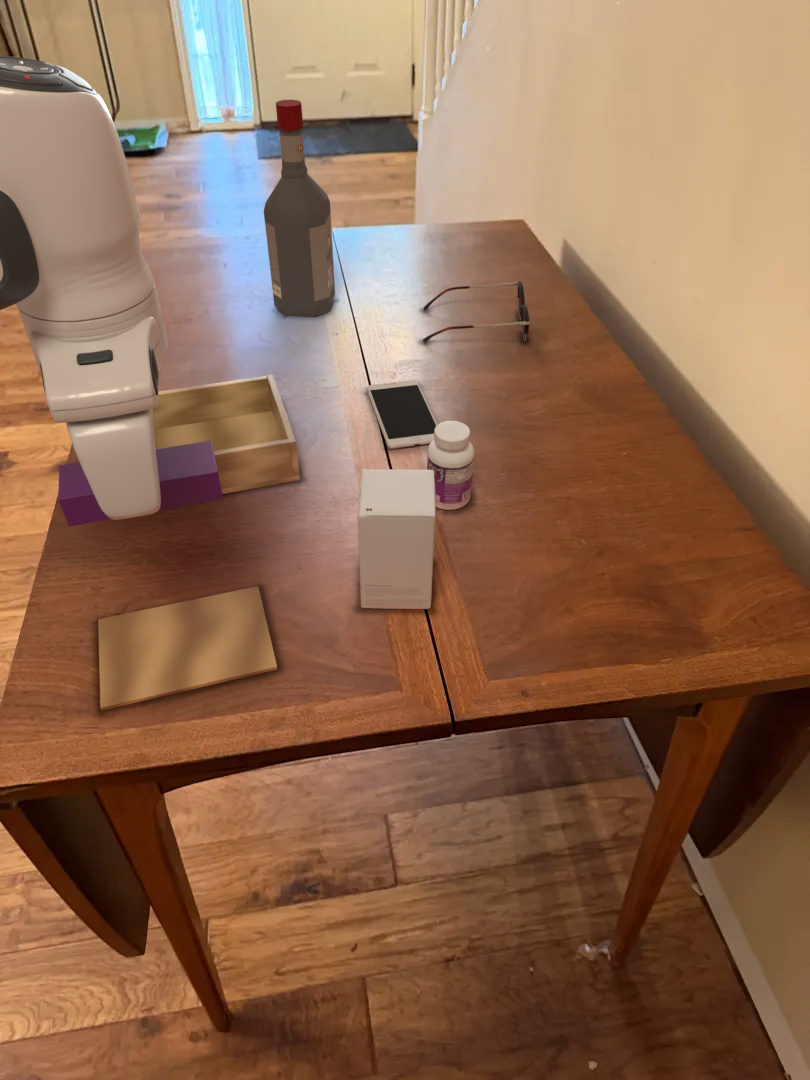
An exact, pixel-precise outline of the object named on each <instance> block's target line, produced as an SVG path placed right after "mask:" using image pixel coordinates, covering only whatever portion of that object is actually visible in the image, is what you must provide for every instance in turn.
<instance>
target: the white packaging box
mask: <svg viewBox="0 0 810 1080" xmlns="http://www.w3.org/2000/svg"><path fill="white" fill-rule="evenodd" d="M358 493H359V494H358V495H359V498H358V507H357V509H358V510H357V535H358V537H357V538H358V563H359V586H360V587H359V589H360V608H361V609H383V610H384V609H385V610H387V609H388V610H393V609H394V610H429V609H431V607H432V596H433V594H432V593H433V576H434V575H433V574H434V573H433V571H434V552H435V534H436V517H437V515H436V514H437V513H436V512H437V507H436V498H435V478H434V470H427V469H409V468H408V469H401V468H399V469H398V468H397V469H395V468H394V469H393V468H392V469H390V468H388V469H387V468H382V469H381V468H379V469H378V468H376V469H375V468H362V469H361V471H360V483H359V492H358Z"/></svg>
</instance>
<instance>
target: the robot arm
mask: <svg viewBox="0 0 810 1080" xmlns="http://www.w3.org/2000/svg"><path fill="white" fill-rule="evenodd" d="M140 229H141V216H140V210H139V205H138V202H137V198H136V193H135V189H134V185H133V182H132V176H131V173H130V170H129V166H128V163H127V158H126V155H125V152H124V149H123V145H122V142H121V140H120V136H119V134H118V129H117V128H116V125H115V123H114V120H113V117H112V115H111V113H110V110H109V108H108V106H107V105H106V102H105V100H104V99H103V98H102V96H101V95H100V93H98V92H97V90H96V89H95V88H94V87H93V86H91V84H90V83H89V82H87V81H86V80H85V79H84V78H82V77H81V76H79V75H78V74H76V73H74V72H73V71H71V70H69V69H68V68H65V67H64V66H61V65H57V64H56V65H54V64H52V63H50V62H47V61H44V60H38V59H33V58H26V57H20V56H19V57H18V56H9V55H8V56H7V55H0V311H2V310H4V309H6V308H9V307H12V306H14V305H16V308H17V310H18V313H19V316H20V319H21V323H22V325H23V327H24V330H25V333H26V335H27V339H28V341H29V345H30V347H31V351H32V354H33V356H34V359H35V362H36V365H37V367H38V370H39V371H40V374H41V379H42V386H43V391H44V395H45V401H46V403H47V406H48V410H49V412H50V415H51V417H52V419H53V421H54V422H55V423H57V424H62V423H63V424H64V423H65V424H66V428H67V433H68V435H69V438H70V441H71V444H72V447H73V450H74V452H75V455H76V456H77V459H78V462H80V464H81V466H82V469H83V471H84V473H85V475H86V478H87V480H88V482H89V484H90V487H91V489H92V491H93V493H94V495H95V498H96V500H97V502H98V504H99V506H100V508H101V509H102V511H103V512H104V513H105V514H106V515H107V516H108V517H109V518H111V519H110V520H113V521H118V520H126V519H132V518H138V517H145V516H150V515H153V514H155V513H158V512H159V511H160V510H159V509H160V505H161V495H160V483H159V475H158V466H157V457H156V449H155V440H154V428H153V408H156V407H157V405H158V398H157V395H158V392H159V378H160V376H159V374H160V372H161V368H162V365H163V358H164V357H165V355H166V353H167V351H168V346H169V342H168V338H167V332H166V328H165V323H164V319H163V315H162V310H161V305H160V300H159V296H158V292H157V288H156V287H157V286H156V283H155V279H154V275H153V272H152V270H151V268H150V266H149V265H148V262H146V259H145V257H144V255H143V252H142V248H141V242H140V241H141V240H140ZM158 510H159V511H158Z"/></svg>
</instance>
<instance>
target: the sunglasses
mask: <svg viewBox="0 0 810 1080" xmlns="http://www.w3.org/2000/svg"><path fill="white" fill-rule="evenodd" d="M514 286H515V287H516V286H517V296H516V297H517V299H518V316H519V320H520V321H514V322H507V323H490V324H475V325H473V324H470V325H455V326H447V327H445V328H442V329H440V330H438V331H436V332H434V333H431V334H429V335H427V336H425V337H424V338H422V342H423V343H427V342H428V341H430V340H431V339H432V338H433V337H436V336H437V335H440V334H442V333H444V332H446V331H450V330H463V329H464V330H465V329H476V328H491V327H492V328H494V327H505V326H522V337H523V341H524V342H526V341H527V335H529V330H530V324H531V322H530V314H529V309H528V306H527V304H526V299H525V289H524V285H523V282H522V281H521V280H518V281H517V282H516V281H515V282H507V283H506V282H505V283H497V284H496V283H493V284H480V285H479V284H478V285H464V286H463V285H461V286H453V287H449V288H446V289H444V290H442V291H441V292H440V293H439V294H437V295H436V296H435V297H433V298H432V299H431V300H430V301H428V302H427V303H426V304H425V305H424V306H423V307H422V309H423V310H424V311H425V312H426V311H427V310H428V309H429V308H430V307H431V305H432V304H433V303H434V302H435V301H437V300H438V299H439V298H440V297H442V296H443V295H444V294H446V293H448V292H450V291H455V290H467V289H479V288H493V287H494V288H495V287H514Z"/></svg>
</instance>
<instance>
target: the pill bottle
mask: <svg viewBox="0 0 810 1080" xmlns="http://www.w3.org/2000/svg"><path fill="white" fill-rule="evenodd" d="M437 424H438V425H437V426H436V427H435V431H434V440H433V441H432V442H431V443H430V444H428V448H427V456H426V470H434V478H435V498H436V509H437V508H438V509H441V510H445V511H453V510H458V509H460V508H463V507H465V506H466V505H467V504H468V503H469V501H470V499H471V494H472V486H473V485H472V484H473V475H474V465H475V464H474V463H475V449H474V446H473V444H472V443H471V430H470V427H469V426H468V425H467V424H465V423H463V422H461V421H458V420H444V421H442V422H440V423H437Z"/></svg>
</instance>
